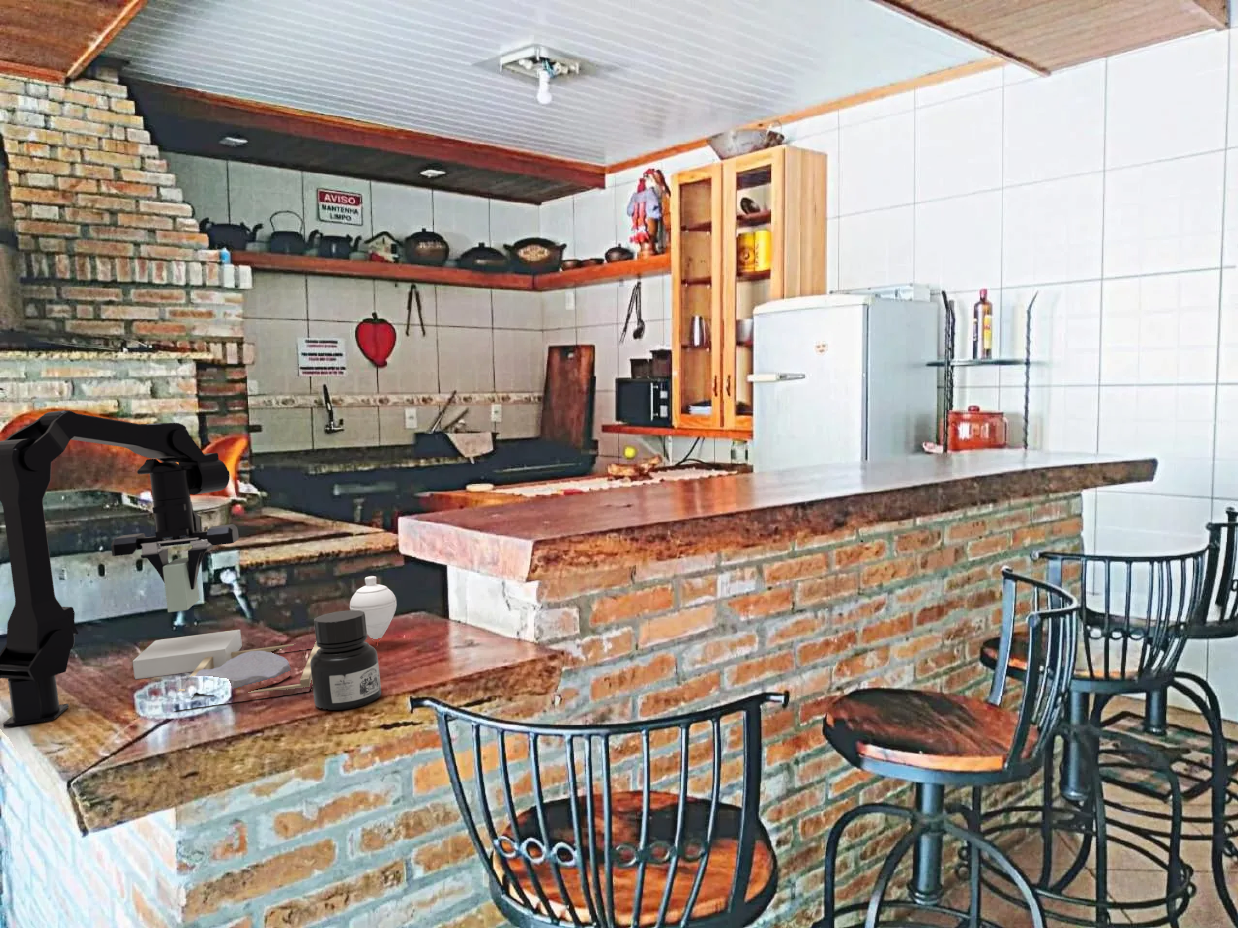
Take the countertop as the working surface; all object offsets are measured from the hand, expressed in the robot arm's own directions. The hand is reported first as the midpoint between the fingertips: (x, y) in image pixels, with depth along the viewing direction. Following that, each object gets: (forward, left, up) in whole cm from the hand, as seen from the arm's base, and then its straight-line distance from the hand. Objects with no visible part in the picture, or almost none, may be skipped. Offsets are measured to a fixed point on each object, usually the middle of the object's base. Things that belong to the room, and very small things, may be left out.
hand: (182, 590), depth 159 cm
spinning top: (-7, -31, -13) cm, 34 cm away
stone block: (-20, -12, -13) cm, 27 cm away
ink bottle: (-36, -28, -13) cm, 47 cm away
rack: (-15, -13, -12) cm, 24 cm away
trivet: (0, 0, -12) cm, 12 cm away
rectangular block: (0, 0, -3) cm, 3 cm away
